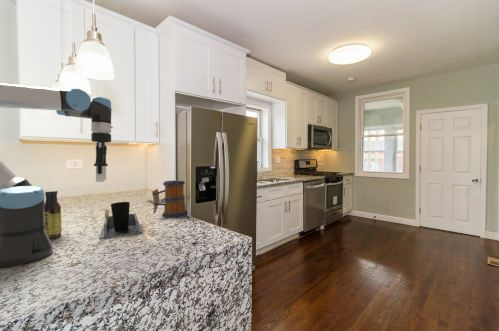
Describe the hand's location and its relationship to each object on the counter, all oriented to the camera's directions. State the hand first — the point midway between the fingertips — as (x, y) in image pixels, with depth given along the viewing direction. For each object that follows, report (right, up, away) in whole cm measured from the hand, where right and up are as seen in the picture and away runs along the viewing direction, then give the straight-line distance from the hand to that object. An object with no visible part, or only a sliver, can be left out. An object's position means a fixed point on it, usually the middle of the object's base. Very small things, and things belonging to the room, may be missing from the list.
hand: (101, 181), depth 106 cm
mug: (+21, -22, +31) cm, 43 cm away
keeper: (+7, -23, +3) cm, 24 cm away
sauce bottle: (-18, -24, -4) cm, 30 cm away
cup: (+7, -23, +3) cm, 24 cm away
